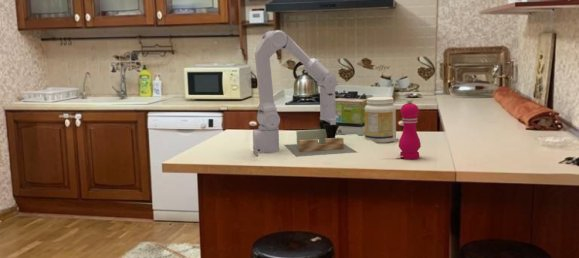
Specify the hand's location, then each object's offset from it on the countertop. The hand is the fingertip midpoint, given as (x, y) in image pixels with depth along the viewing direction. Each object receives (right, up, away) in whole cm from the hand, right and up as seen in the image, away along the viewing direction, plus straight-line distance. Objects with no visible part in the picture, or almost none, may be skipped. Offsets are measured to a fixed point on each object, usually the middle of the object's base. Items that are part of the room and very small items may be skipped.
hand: (328, 141), depth 214 cm
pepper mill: (+26, -5, -22) cm, 34 cm away
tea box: (+11, +3, +32) cm, 34 cm away
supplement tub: (+21, 0, +11) cm, 24 cm away
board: (-4, -3, -6) cm, 8 cm away
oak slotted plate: (-3, -3, -9) cm, 10 cm away
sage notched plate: (-5, -2, -1) cm, 5 cm away
